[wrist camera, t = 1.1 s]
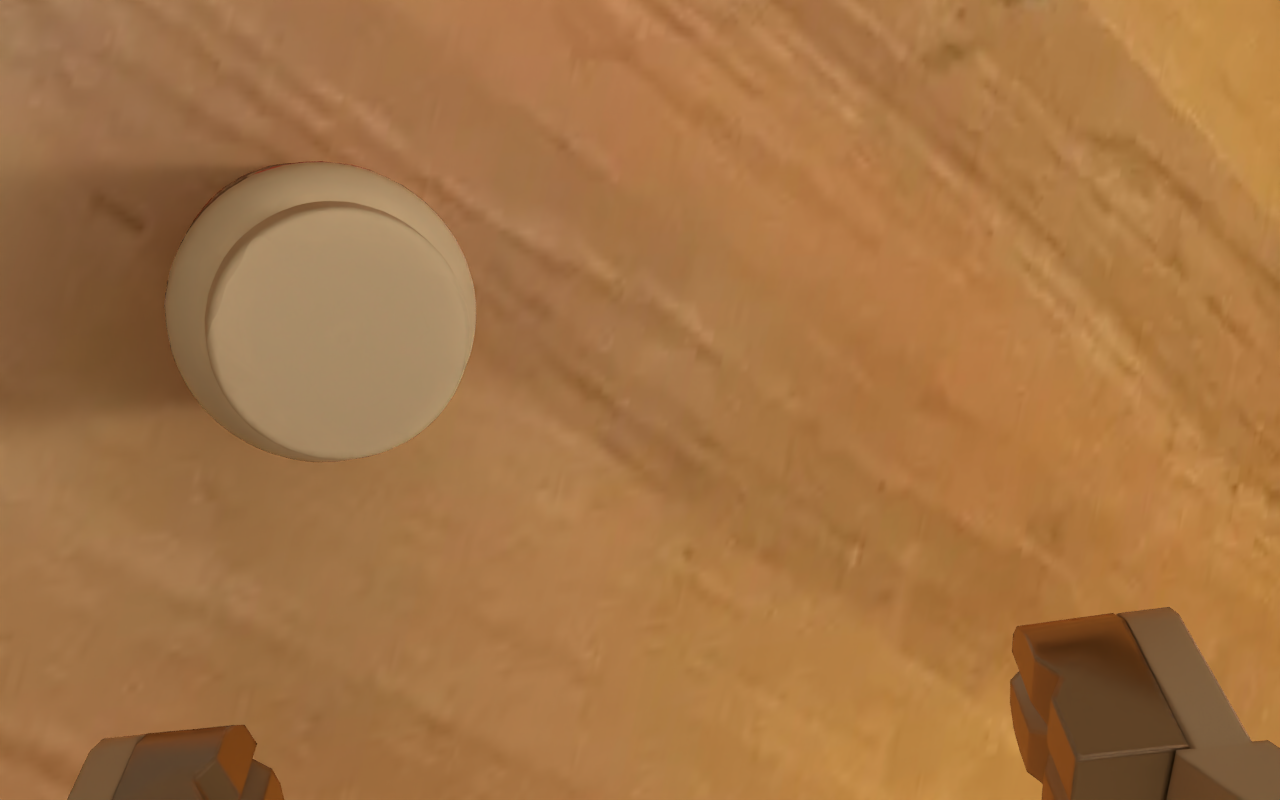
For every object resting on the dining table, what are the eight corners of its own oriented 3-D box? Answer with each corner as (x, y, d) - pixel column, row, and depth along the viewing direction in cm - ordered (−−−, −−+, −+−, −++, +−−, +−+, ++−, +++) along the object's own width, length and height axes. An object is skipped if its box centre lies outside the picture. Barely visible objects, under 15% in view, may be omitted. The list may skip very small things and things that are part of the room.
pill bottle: (328, 117, 25) (390, 89, 16) (459, 307, 27) (578, 376, 18) (124, 248, 24) (71, 295, 15) (274, 435, 26) (305, 575, 17)
